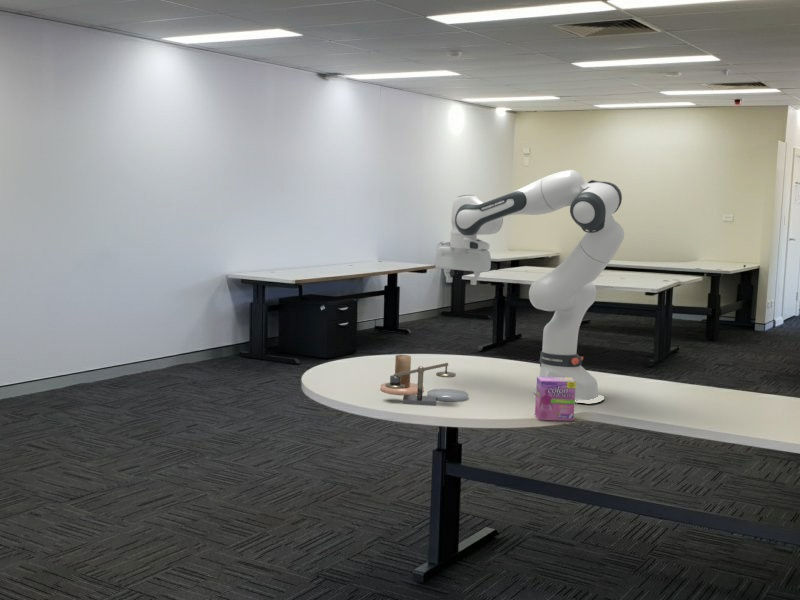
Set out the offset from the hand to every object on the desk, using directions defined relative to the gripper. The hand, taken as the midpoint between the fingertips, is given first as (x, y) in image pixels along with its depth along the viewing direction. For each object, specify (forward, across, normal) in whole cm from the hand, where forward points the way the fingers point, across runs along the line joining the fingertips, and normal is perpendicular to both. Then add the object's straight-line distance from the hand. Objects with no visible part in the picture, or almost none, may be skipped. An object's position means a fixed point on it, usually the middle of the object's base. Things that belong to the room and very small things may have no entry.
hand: (461, 283), depth 286 cm
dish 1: (+34, -6, -25) cm, 43 cm away
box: (+34, +47, -25) cm, 63 cm away
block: (+33, -6, -25) cm, 42 cm away
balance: (+34, +7, -35) cm, 49 cm away
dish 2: (+34, +10, -23) cm, 42 cm away
